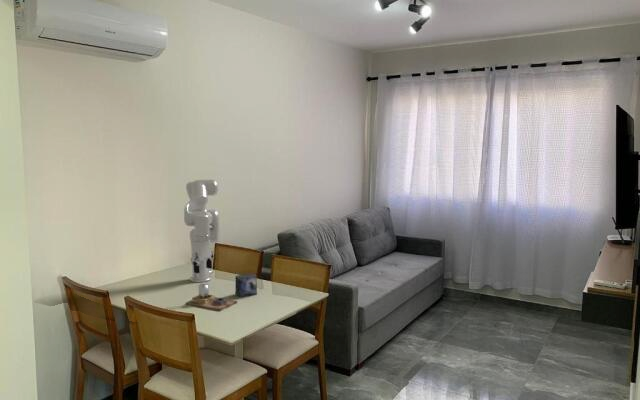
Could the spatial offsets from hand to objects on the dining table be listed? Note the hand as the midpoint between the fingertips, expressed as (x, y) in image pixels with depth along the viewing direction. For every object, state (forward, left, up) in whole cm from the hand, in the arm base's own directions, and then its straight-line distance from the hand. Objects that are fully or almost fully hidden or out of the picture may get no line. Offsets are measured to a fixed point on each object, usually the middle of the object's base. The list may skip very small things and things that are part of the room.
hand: (203, 270), depth 250 cm
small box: (-21, +12, -17) cm, 29 cm away
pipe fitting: (0, 0, -16) cm, 16 cm away
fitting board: (0, +5, -17) cm, 18 cm away
